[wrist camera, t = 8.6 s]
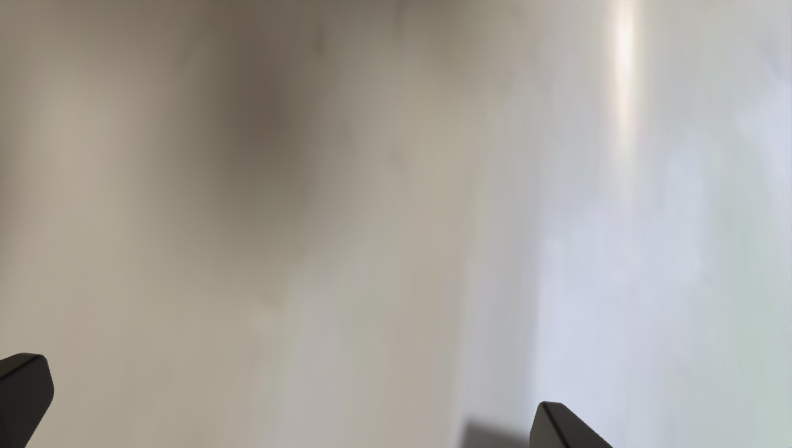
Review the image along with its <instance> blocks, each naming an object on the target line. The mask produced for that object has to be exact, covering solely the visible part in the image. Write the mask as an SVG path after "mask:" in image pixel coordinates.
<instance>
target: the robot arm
mask: <svg viewBox="0 0 792 448" xmlns="http://www.w3.org/2000/svg"><path fill="white" fill-rule="evenodd" d="M53 396H54V385H53V381H52V377H51V374H50V370H49V366H48V362H47V359H46V358H45V357H44V356H43V355H41V354H32V353H19V354H15V355H13V356H10V357H8V358H5V359H2V360H0V448H25V447H26V445H27V443H28V441H29V440H30V438H31V436H32V435H33V433H34V431H35V430H36V428H37V426H38V424H39V423H40V421H41V419H42V418H43V416H44V414H45V413H46V411H47V409H48V407H49V406H50V404H51V402H52V399H53ZM530 448H613V447H612V446H611V445H610V444H608V443H607V442H606V441H605V440H604V439H603V438H602V437H600V436H599V435H598V434H597V433H596V432H595V431H594V430H592V429H591V428H590V427H589V426H588V425H587V424H586V423H584V422H583V421H582V420H581V419H580V418H579V417H578V416H576V415H575V414H574V413H573V412H572V411H571V410H570V409H568V408H567V407H566V406H565V405H563V404H562V403H557V402H546V401H543V402H541V403H540V404H539V405H538V408H537V411H536V415H535V418H534V422H533V425H532V428H531V432H530Z"/></svg>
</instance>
